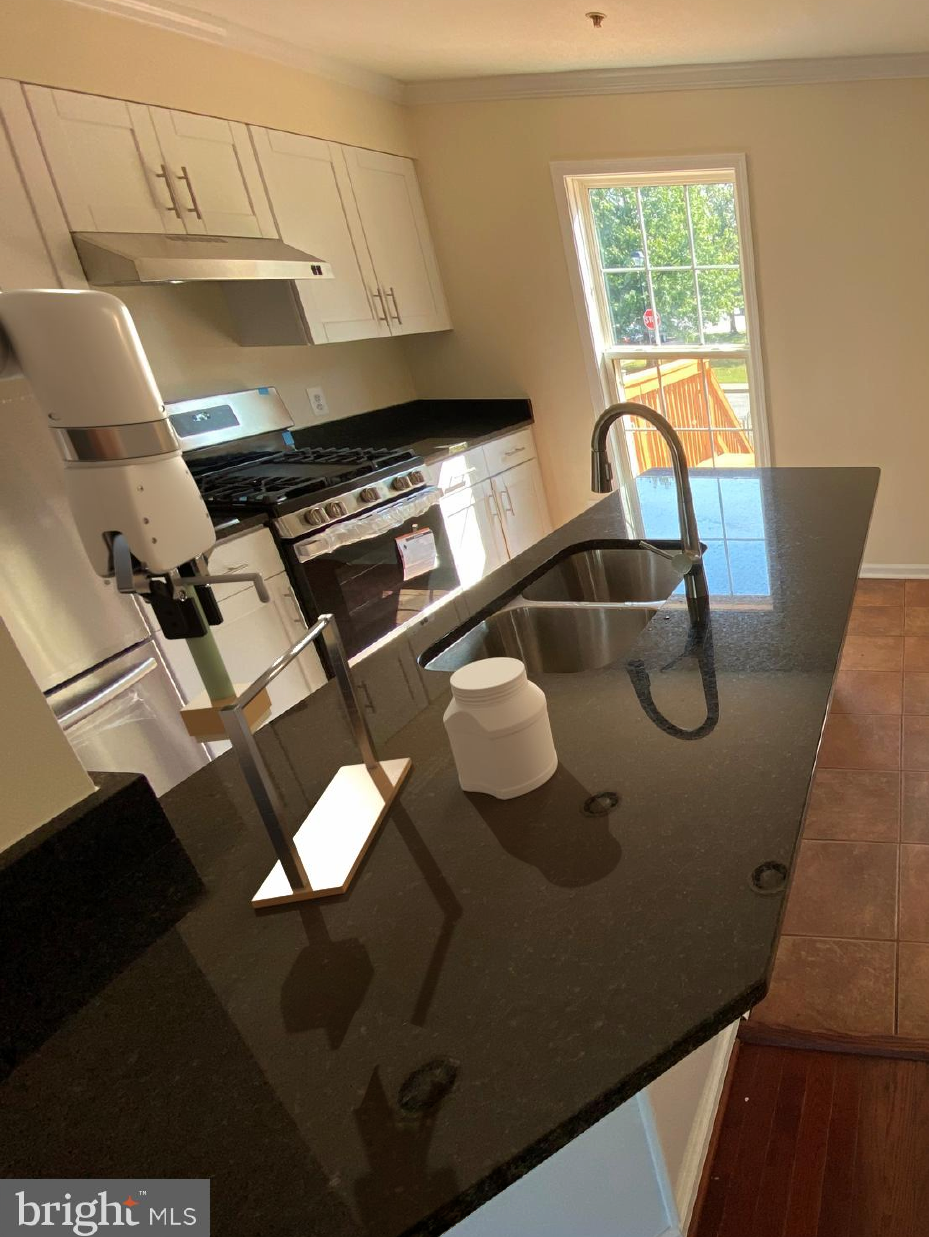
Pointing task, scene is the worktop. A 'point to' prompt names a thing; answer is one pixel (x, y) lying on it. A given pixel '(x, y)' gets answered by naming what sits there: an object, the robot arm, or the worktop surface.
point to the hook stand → (219, 673)
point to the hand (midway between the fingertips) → (195, 630)
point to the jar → (499, 729)
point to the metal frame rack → (343, 811)
